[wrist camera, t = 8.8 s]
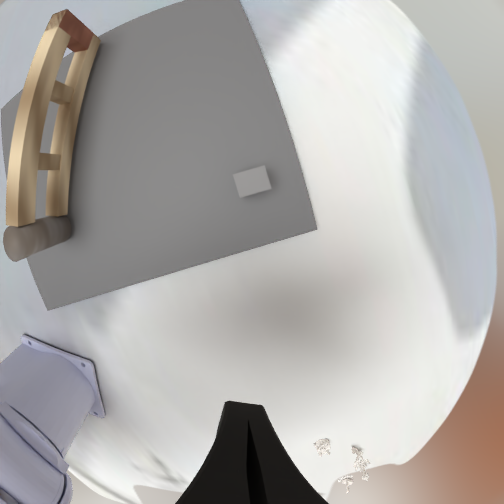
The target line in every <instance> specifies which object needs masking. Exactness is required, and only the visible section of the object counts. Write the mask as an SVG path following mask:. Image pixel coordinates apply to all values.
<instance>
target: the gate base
mask: <svg viewBox="0 0 504 504" xmlns="http://www.w3.org/2000/svg"><path fill="white" fill-rule="evenodd" d="M98 38H99V39H100V40H101V42H100V44H99V47H98V50H97V53H96V55H95V58H94V61H93V64H92V68H91V71H90V74H89V78H88V81H87V85H86V88H85V92H84V96H83V100H82V104H81V109H80V113H79V118H78V123H77V128H76V134H75V140H74V146H73V153H72V161H71V169H70V180H69V192H68V213H67V215H65V216H67V217H68V219H69V221H70V223H71V235H70V237H69V239H68V240H67V241H65V242H62V243H60V244H57V245H55V246H52V247H50V248H47V249H45V250H43V251H40V252H38V253H35V254H33V255H31V256H28V257H26V258H27V261H28V264H29V266H30V269H31V272H32V274H33V277H34V280H35V282H36V285H37V287H38V290H39V292H40V294H41V297H42V299H43V301H44V303H45V306H46V308H47V310H52V309H55V308H58V307H62V306H65V305H68V304H71V303H75V302H78V301H81V300H84V299H88V298H91V297H94V296H98V295H101V294H104V293H107V292H111V291H114V290H117V289H121V288H124V287H127V286H130V285H134V284H137V283H140V282H144V281H147V280H150V279H154V278H157V277H160V276H164V275H167V274H170V273H173V272H177V271H180V270H183V269H187V268H190V267H193V266H197V265H200V264H203V263H207V262H210V261H213V260H217V259H220V258H223V257H227V256H230V255H233V254H237V253H240V252H243V251H247V250H250V249H253V248H257V247H260V246H263V245H267V244H270V243H273V242H277V241H280V240H284V239H287V238H290V237H294V236H297V235H300V234H304V233H307V232H310V231H314V230H317V226H316V222H315V218H314V214H313V210H312V206H311V202H310V199H309V195H308V191H307V188H306V184H305V180H304V177H303V173H302V170H301V166H300V163H299V160H298V156H297V153H296V150H295V146H294V143H293V140H292V137H291V134H290V131H289V127H288V124H287V121H286V118H285V115H284V112H283V109H282V107H281V104H280V101H279V98H278V95H277V92H276V89H275V87H274V84H273V81H272V79H271V76H270V73H269V71H268V68H267V65H266V63H265V60H264V58H263V55H262V53H261V50H260V48H259V45H258V43H257V40H256V38H255V35H254V33H253V31H252V28H251V26H250V24H249V21H248V19H247V17H246V15H245V12H244V10H243V8H242V6H241V4H240V2H239V0H185V1H182V2H178V3H175V4H172V5H169V6H166V7H164V8H161V9H158V10H155V11H153V12H150V13H148V14H145V15H143V16H140V17H138V18H136V19H133V20H131V21H129V22H127V23H125V24H122V25H120V26H118V27H116V28H114V29H112V30H110V31H108V32H106V33H104V34H103V35H101V36H99V37H98ZM74 53H75V52H72V53H70V54H69V55H67V56H66V57H64V58H63V59H62V61H61V64H60V67H59V70H58V73H57V76H56V80H57V81H59V82H61V83H63V84H65V81H66V77H67V74H68V71H69V68H70V65H71V62H72V59H73V56H74ZM22 92H23V89H22V90H21V91H20V92H19V93H18V94H17V95H16V96H14V97H13V98H12V99H11V100H10V101H9V102H8V103H7V104H6V105H5V106H4V107H3V108H2V109H1V128H2V144H3V155H4V163H5V171H6V177H7V176H8V166H9V157H10V149H11V142H12V136H13V131H14V125H15V121H16V116H17V111H18V107H19V103H20V99H21V95H22ZM58 107H59V104H57V103H54V102H51V101H50V102H49V106H48V110H47V115H46V119H45V124H44V129H43V135H42V141H41V148H40V153H49V154H50V150H51V144H52V137H53V132H54V126H55V121H56V116H57V112H58ZM47 177H48V170H38V173H37V185H36V205H35V219H39V218H44V217H48V216H46V190H47Z"/></svg>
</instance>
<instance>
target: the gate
mask: <svg viewBox="0 0 504 504" xmlns="http://www.w3.org/2000/svg"><path fill="white" fill-rule="evenodd" d="M100 42H101V40H100V39H99V38H98V37H97V36H96V35H95V34H94V33H93V32H92V31H91V30H90V29H88V28H87V27H86V26H85V25H84V24H83V23H82V22H81V21H80V20H79V19H78V18H76V17H75V16H74V15H73V14H72V13H71V12H70V11H69V10H67V9H66V10H63V11H60V12H58V13H55V14H53V15H52V17H51V19H50V21H49V23H48V25H47V27H46V30H45V32H44V34H43V36H42V38H41V41H40V43H39V45H38V48H37V50H36V53H35V56H34V58H33V61H32V64H31V66H30V69H29V72H28V75H27V78H26V82H25V85H24V88H23V92H22V95H21V99H20V103H19V107H18V111H17V116H16V121H15V125H14V131H13V136H12V142H11V149H10V157H9V166H8V176H7V193H6V225H9V227H7V229H6V230H5V232H4V237H3V243H4V249H5V252H6V254H7V256H8V257H9V258H10V259H11V260H12V261H15V262H17V261H19V260H21V259H24V258H26V257H28V256H31V255H33V254H35V253H38V252H40V251H43V250H45V249H47V248H50V247H52V246H55V245H57V244H60V243H62V242H65V241H67V240H68V239H69V237H70V235H71V223H70V221H69V219H68V217H67V216H65V215H67V213H68V192H69V180H70V169H71V161H72V153H73V146H74V140H75V134H76V128H77V123H78V118H79V113H80V109H81V104H82V100H83V96H84V92H85V88H86V85H87V81H88V78H89V74H90V71H91V68H92V64H93V61H94V58H95V55H96V53H97V50H98V47H99V44H100ZM66 48H69V49H70V50H72V51H73V52H75V53H74V56H73V59H72V62H71V65H70V68H69V71H68V74H67V77H66V81H65V84H63V83H61V82H59V81H57V80H56V76H57V73H58V70H59V67H60V64H61V61H62V58H63V56H64V53H65V50H66ZM50 101H51V102H54V103H57V104H59V107H58V112H57V116H56V121H55V126H54V132H53V137H52V144H51V150H50V154H49V153H40V148H41V141H42V135H43V129H44V124H45V119H46V115H47V110H48V106H49V102H50ZM38 170H48V177H47V190H46V216H48V217H44V218H39V219H35V205H36V185H37V173H38Z"/></svg>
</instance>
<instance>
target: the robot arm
mask: <svg viewBox="0 0 504 504" xmlns="http://www.w3.org/2000/svg"><path fill="white" fill-rule="evenodd" d="M21 341H22V344H21V345H20V346H19V347H18V348H17V349H15V350H14V351H13V352H12V353H11V354H10V355H9V356H8V357H7V358H6V359H5V360H4V361H2V362H1V363H0V504H70V502H71V499H72V493H73V490H72V482H71V478H70V477H69V475H68V474H67V473H66V471H67V469H68V467H69V464H67V463H66V462H65V461H64V458H65V456H66V454H67V452H68V450H69V448H70V446H71V444H72V442H73V440H74V438H75V437H76V435H77V433H78V431H79V429H80V427H81V425H82V424H83V422H84V420H85V418H86V416H87V415H88V413H89V414H92V415H94V416H97V417H100V418H104V417H105V412H104V409H103V405H102V401H101V397H100V393H99V388H98V384H97V379H96V375H95V370H94V365H93V363H92V362H91V361H89V360H87V359H84V358H81V357H78V356H75V355H72V354H70V353H67V352H64V351H62V350H59V349H57V348H54V347H52V346H49V345H47V344H44V343H42V342H40V341H37V340H35V339H33V338H31V337H28V336H26V335H24V334H23V335H22V336H21ZM175 504H328V502H326V501H325V500H324V499H323V498H322V497H321V496H320V495H319V494H318V493H317V492H316V490H315V489H314V488H313V487H312V486H311V485H310V484H309V483H308V481H307V480H306V479H305V478H304V476H303V475H302V474H301V473H300V471H299V470H298V468H297V467H296V466H295V464H294V463H293V461H292V460H291V458H290V457H289V455H288V454H287V452H286V450H285V449H284V447H283V445H282V443H281V442H280V440H279V438H278V436H277V434H276V432H275V430H274V428H273V427H272V424H271V422H270V420H269V418H268V416H267V413H266V411H265V409H264V407H263V406H262V405H256V404H248V403H241V402H234V401H227V402H225V404H224V408H223V411H222V415H221V418H220V422H219V425H218V429H217V435H216V439H215V441H214V444H213V446H212V448H211V450H210V452H209V454H208V455H207V457H206V459H205V461H204V463H203V465H202V466H201V468H200V470H199V471H198V473H197V475H196V476H195V478H194V479H193V481H192V482H191V484H190V485H189V486H188V488H187V489H186V490H185V492H184V493H183V494H182V496H181V497H180V498H179V500H178V501H177V502H176V503H175Z"/></svg>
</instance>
